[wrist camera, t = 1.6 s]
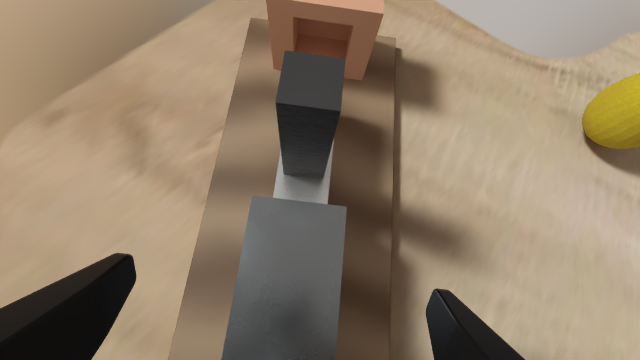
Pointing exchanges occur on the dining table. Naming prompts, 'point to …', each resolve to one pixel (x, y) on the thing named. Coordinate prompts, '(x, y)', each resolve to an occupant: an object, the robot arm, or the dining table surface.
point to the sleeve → (287, 282)
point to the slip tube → (307, 124)
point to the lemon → (615, 115)
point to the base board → (259, 180)
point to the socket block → (326, 30)
